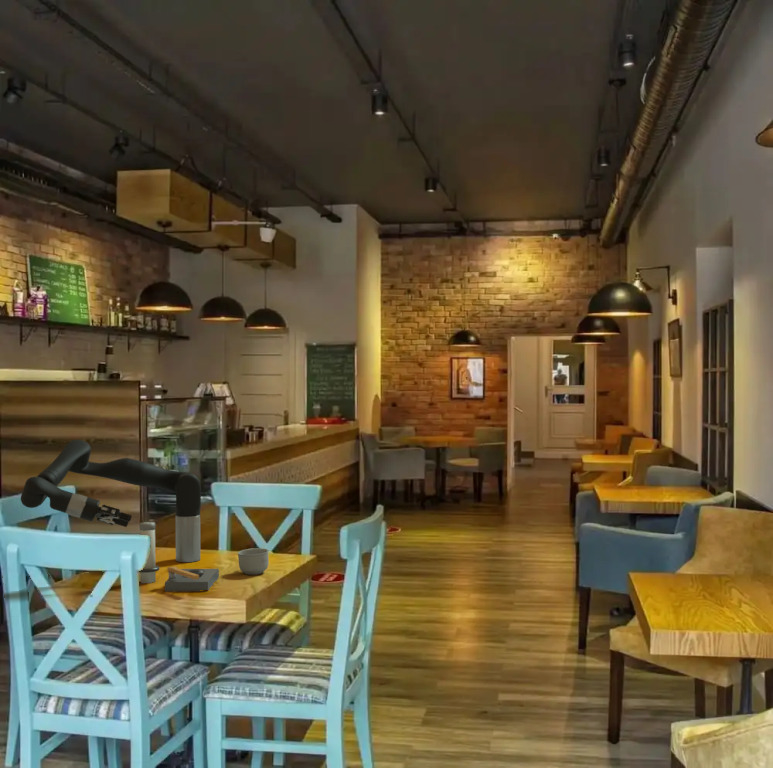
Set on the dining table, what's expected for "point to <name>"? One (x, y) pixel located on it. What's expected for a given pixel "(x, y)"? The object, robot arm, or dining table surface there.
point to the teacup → (253, 560)
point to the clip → (183, 572)
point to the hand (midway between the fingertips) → (129, 521)
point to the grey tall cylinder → (149, 570)
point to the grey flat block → (192, 580)
